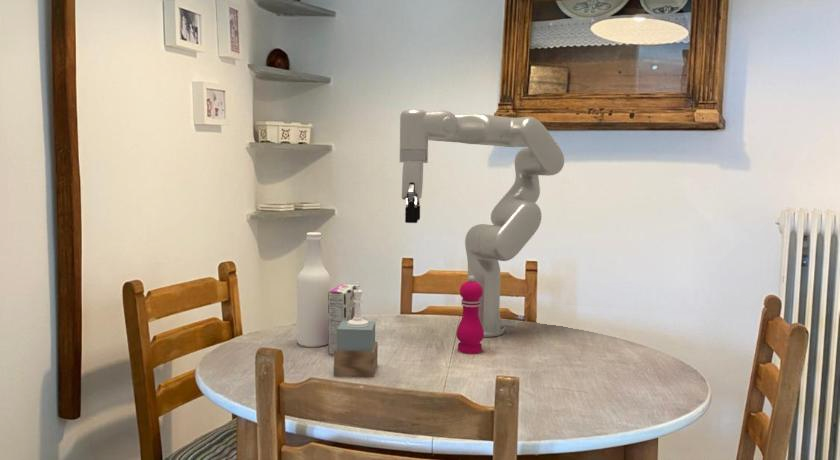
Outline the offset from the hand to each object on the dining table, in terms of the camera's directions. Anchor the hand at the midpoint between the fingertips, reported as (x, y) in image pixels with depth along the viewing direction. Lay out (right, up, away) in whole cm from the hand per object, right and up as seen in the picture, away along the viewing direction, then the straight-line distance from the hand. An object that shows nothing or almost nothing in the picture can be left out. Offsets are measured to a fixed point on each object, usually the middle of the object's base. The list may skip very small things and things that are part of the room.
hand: (412, 221), depth 173 cm
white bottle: (-27, -33, +1) cm, 43 cm away
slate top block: (-13, -30, -22) cm, 39 cm away
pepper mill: (+15, -34, -4) cm, 38 cm away
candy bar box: (-18, -34, -5) cm, 39 cm away
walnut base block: (-13, -36, -22) cm, 44 cm away
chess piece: (-13, -25, -23) cm, 36 cm away
